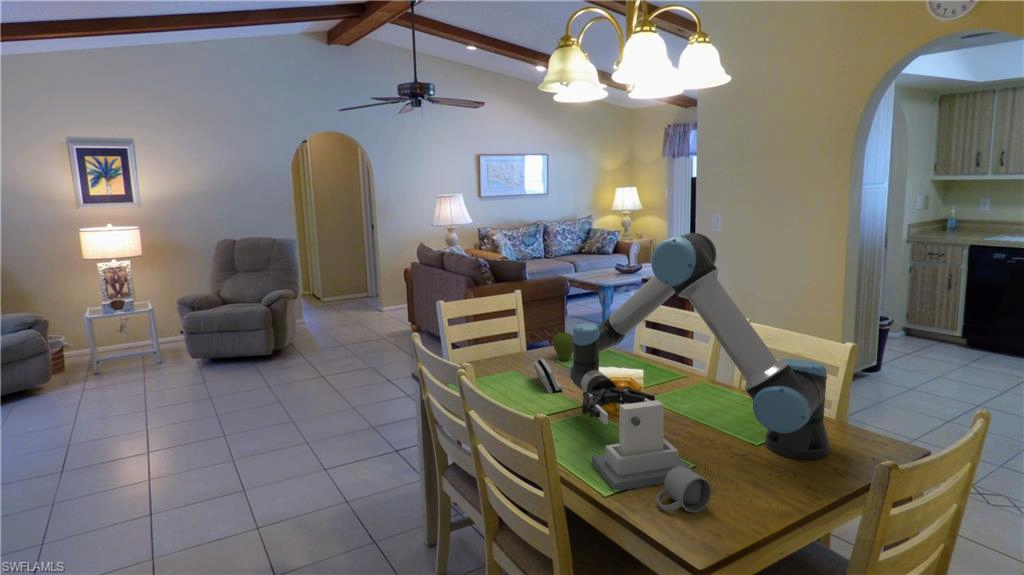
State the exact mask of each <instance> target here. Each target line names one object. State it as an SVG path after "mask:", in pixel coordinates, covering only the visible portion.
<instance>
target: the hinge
mask: <svg viewBox="0 0 1024 575" xmlns="http://www.w3.org/2000/svg"><path fill="white" fill-rule="evenodd" d="M532 364H533V368H534V370H535V372H536V375H537V378H538V379H539V381H540V382H541V384H542V383H543V384H542V385H543V387H544V386H545V387H544V388H545V390H546V391H547V392H548V394H553V393H554V391H556V392H557V391H561V392H562V393H564V389H563V387H562V386H561V385H560V383H559V382H558V381H557V379H556V378H555V375H554V373H553V371H552V370H551V368H550V366H549V364H548V363H547V361H546V360H545V359H544V358H540V359H539V358H538V360H535V361H533V362H532Z"/></svg>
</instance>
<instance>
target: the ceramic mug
mask: <svg viewBox="0 0 1024 575" xmlns="http://www.w3.org/2000/svg"><path fill="white" fill-rule="evenodd" d="M693 471H694V470H693ZM693 471H691V470H689V469H688V468H685V467H680V466H678V467H674V468H672V469H671V470H670V471H669V472H668V473H667V474H666V476H665V479H664V484H663V486H664V487H663V488H664V489H662V490H661V491H660V492H659V493H658V494H657V495H656V498H655V500H656V503H657V505H658V508H659V509H660V510H662V511H663V512H673V511H676V510H677V509H680V508H683V509H684V510H685V511H687V512H688V513H699V512H701V511H702V510H704V509H705V508H706V507H707V506H708V505H709V503H710V501H711V497H712V490H713V489H712V486H711V484H710V482H709V481H708V479H707V478H705V477H703V476H701V475H699V474H698V473H696V472H695V471H694V472H693ZM667 495H668V496H669V497H670V498H671V499H673V501H675V502H673V503H670V504H667V505H666V504H663V503H662V500H663V498H664V497H666V496H667Z"/></svg>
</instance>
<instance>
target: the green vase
mask: <svg viewBox="0 0 1024 575" xmlns="http://www.w3.org/2000/svg"><path fill="white" fill-rule="evenodd" d="M552 342H553V343H552V344H553V348H554V351H555V353H556V356H557V357H558V358H559V360H560V361H562V362H566V361H568V360H569V359H570V358H571V356H573V334H572V333H570V332H564V331H563V332H558V333H556V334H555V335H554V336H553V339H552Z"/></svg>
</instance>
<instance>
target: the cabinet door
mask: <svg viewBox="0 0 1024 575" xmlns="http://www.w3.org/2000/svg"><path fill="white" fill-rule="evenodd" d="M664 412H665V404H664V403H663V402H661V401H660V400H658V399H655V401H647V402H639V403H631V404H629V403H624V404H619V444H620V449H619V455H620V456H621V457H623V456H629V455H636V454H643V453H649V452H656V451H663V438H664V420H665V418H664V417H665V416H664V415H665V414H664Z"/></svg>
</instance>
